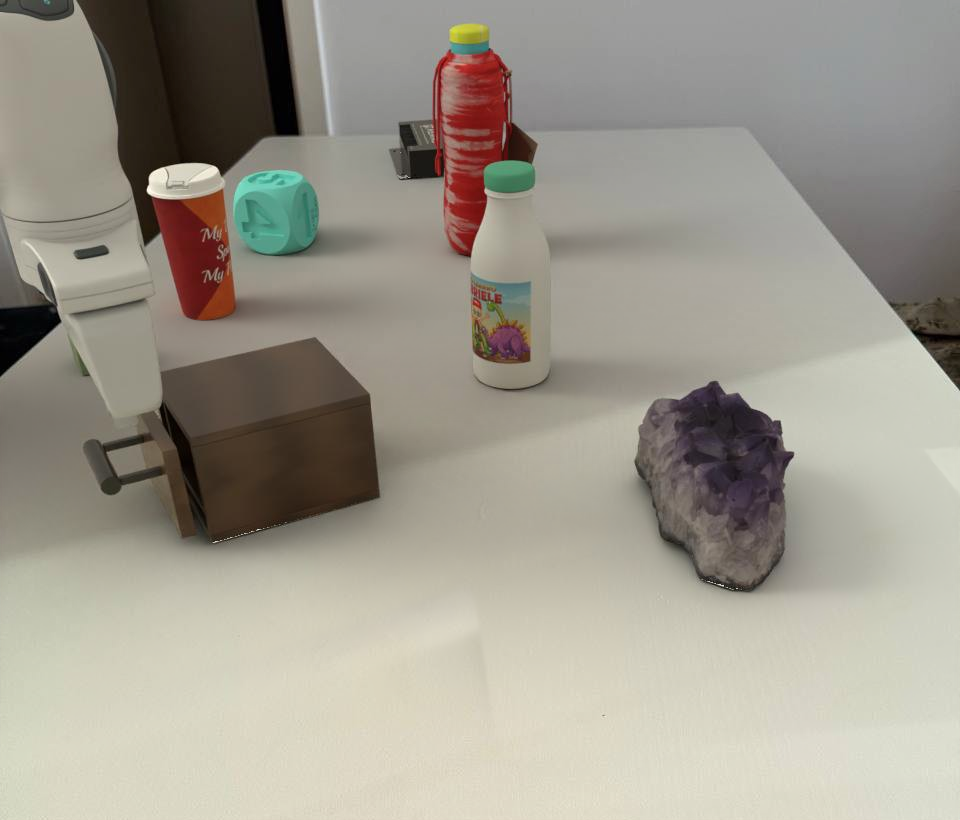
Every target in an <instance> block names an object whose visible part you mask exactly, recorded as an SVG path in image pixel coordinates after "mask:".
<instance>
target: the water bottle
mask: <svg viewBox="0 0 960 820" xmlns="http://www.w3.org/2000/svg"><path fill="white" fill-rule="evenodd" d="M448 31H449V32H448V33H449V41H450V42H449V43H450V48H449V49H448V50H447V51H446V54H445V55H444V56H442V58H440V59H439V61H438V63H437V65H436V67H435V70H434V76H433V80H432V111H431V112H432V113H431V114H432V120H433V130H434V143H435V146H436V148H437V154H436V157H435V169H436V173H438V175H441V167H440V157H441V156H442V152H441V151H440V126H441V134H442V141H443V154H444V176H443V206H442V207H443V209H442V210H443V225H444V233H445V235H446V238H447V240H448V243H449V245H450V247H451V248H452V249H453V250H454V251H455V253H457V254H460V255H463V256H466V257H467V256H468V257H471V255H472V249H473V245H474V241H475V238H476V235H477V233H478V231H479V228H480V226H481V223H482V220H483V218H484V214H485V210H486V206H487V195H486V194H485V192H484V190H485V184H484V170H485V168H486V167H487V166H488V165H489V164H492V163H495V162H500V161H522V162H527V163H530V164H531V165H533V163H534V159H535V155H536V152H537V148H538V145H539V143H538V142H536V140H534V139H533V138H532V137H530V136H529V135H528V134H527V133H526V132H525V131H523V130H522V129H521V128H520V127H518V126H517V124H516V123H515V122H513V83H512V76H513V74H512V73H513V70H512V69H509V68H508V67H507V65H506V64H505V62H504V61H503V60H502V58H501V57H500V55H498V54H497V53H495V52H494V49H492V48H491V47H490V29H489V27H488V26H487V25H485V24H481V23H462V24H457V25H454V26H452V27H450V29H449V30H448ZM508 87H509V88H508ZM508 89H509V91H508ZM435 119H437V137H436V120H435ZM504 125H505V139H504V143H503V138H504Z"/></svg>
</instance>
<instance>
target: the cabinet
mask: <svg viewBox="0 0 960 820" xmlns="http://www.w3.org/2000/svg"><path fill="white" fill-rule="evenodd" d="M160 373H161V380H162V392H163V395H162V400H163V401H164V403H165V404H166V406H167V408H168V409H169V411H170V412H171V414H172V416H173V417H174V419H175V420H176V422H177V423H178V425H179V427H180V428H181V430H182V431H183V433H184V435H185V436H186V438H187V439H188V441H189V443H190V447H191V452H192V456H193V461H194V466H195V470H196V475H197V480H198V484H199V489H200V494H201V498H202V503H203V508H204V512H205V515H204V513H203V511H202V509H201V508H200V506H199V504H198V503H197V501H196V499H195V497H194V496H193V494H192V492H191V491H190V489H189V487H188V486H187V484H186V482H185V485H186V490H187V494H188V499H189V503H190V508H191V509H192V510H193V513H195V515H196V517H197V519H198V520H199V522H200V525H201V526H202V527H203V530H204V531H205V533H206V532H207V533H206V534H207V536H208V538H209V540H210V539H211V540H210V542H211V543H212V542H215V541H220V540H224V539H227V538H230V537H235V536H238V535H241V534H244V533H249V532H251V531H256V530H257V529H263V528H267V527H271V526H274V525H279V524H282V525H284V524H283V523H285V522H289V523H291V522H290V521H293V522H296V521H295V520H297V519H300V520H302V519H301V518H304V519H306V518H305V517H307V518H310V517H309V516H311V517H313V515H314V516H317V515H316V514H318V515H321V514H325V513H328V511H329V512H332V511H335V510H334V509H336V510H338V508H339V509H343V508H346V507H348V506H347V505H350V506H352V505H351V504H354V505H356V504H355V503H357V504H360V503H359V502H361V503H363V501H364V502H367V500H368V501H371V500H375V499H378V497H379V498H380V497H381V493H380V483H379V474H378V465H377V464H378V462H377V452H376V444H375V433H374V422H373V413H372V412H373V411H372V401H371V393H370V392H369V391H368V390H367V389H366V387H364V386H363V385H362V383H360V382H359V381H358V379H356V378H355V377H354V376H353V375H352V373H351V372H350V371H349V370H348V369H347V368H346V367H345V366H344V365H343V364H342V363H341V362H340V361H339V360H338V358H336V357H335V356H334V354H332V352H331V351H330V350H329V349H327V347H326V346H325V345H324V344H323V343H322V342H321V341H320V340H319V339H318V338H317V337H316V336H313V337H309V338H305V339H300V340H295V341H291V342H286V343H282V344H278V345H273V346H269V347H265V348H260V349H255V350H250V351H246V352H242V353H237V354H233V355H228V356H224V357H220V358H216V359H211V360H206V361H203V362H202V361H201V362H197V363H193V364H189V365H185V366H180V367H179V366H178V367H175V368H171V369H170V368H169V369H166V370H162V371H160ZM157 411H158V415H159V416H158V417H159V419H160V421H161V423H162V424H163V426H164V428H165V429H166V431H167V432H168V434H169V436H170V433H169V429H168V425H167V420H166V416H165V411H164V407H163V402H162V403H161V406H160V408H159V409H157ZM184 481H185V480H184ZM374 498H375V499H374ZM370 499H371V500H370ZM345 506H346V507H345ZM342 507H343V508H342ZM324 512H325V513H324ZM320 513H321V514H320ZM297 521H298V520H297ZM279 526H280V525H279Z"/></svg>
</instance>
